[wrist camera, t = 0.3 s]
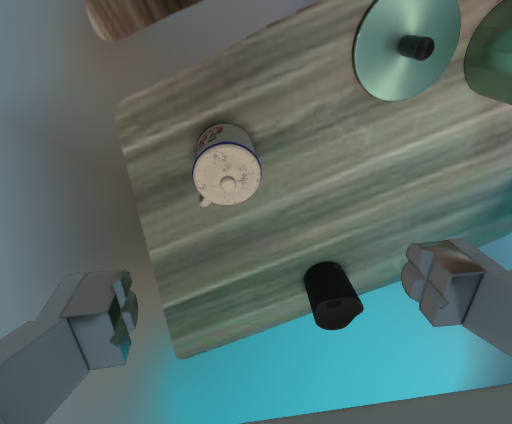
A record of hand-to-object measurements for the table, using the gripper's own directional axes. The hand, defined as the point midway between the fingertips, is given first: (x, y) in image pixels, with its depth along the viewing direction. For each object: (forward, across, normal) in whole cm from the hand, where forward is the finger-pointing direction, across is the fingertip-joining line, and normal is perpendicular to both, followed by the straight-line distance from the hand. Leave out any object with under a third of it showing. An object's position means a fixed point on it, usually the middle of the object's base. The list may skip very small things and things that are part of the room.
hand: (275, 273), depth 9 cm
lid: (+37, -25, -6) cm, 45 cm away
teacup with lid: (+40, +1, +9) cm, 41 cm away
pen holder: (+43, -19, +38) cm, 60 cm away
